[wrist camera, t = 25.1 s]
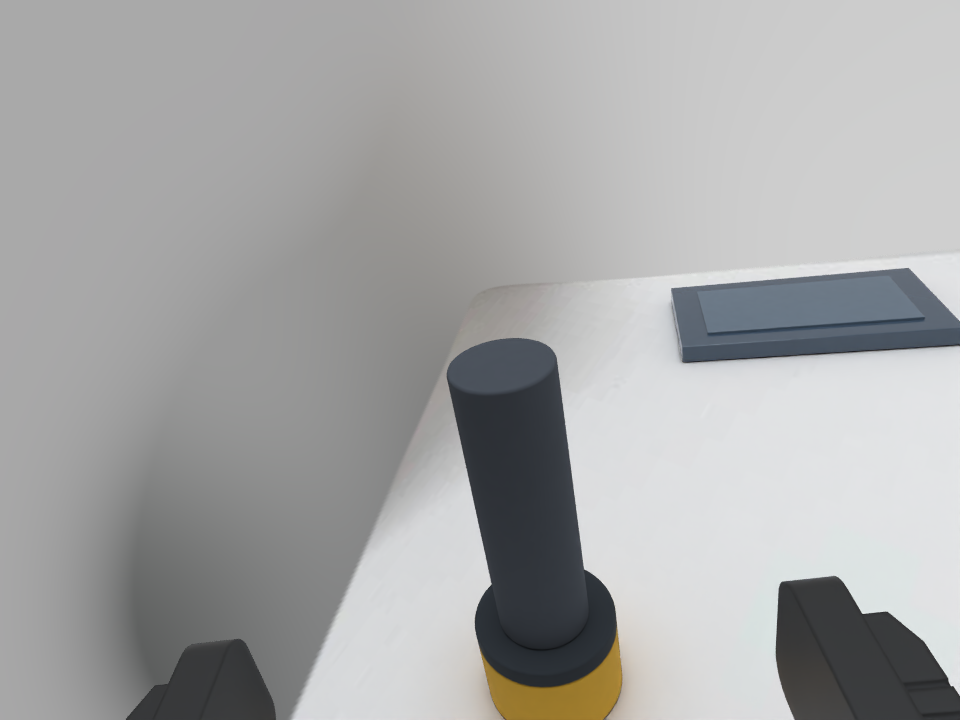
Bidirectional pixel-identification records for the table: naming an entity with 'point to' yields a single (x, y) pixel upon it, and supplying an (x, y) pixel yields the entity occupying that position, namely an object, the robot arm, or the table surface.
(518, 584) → the sponge wand
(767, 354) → the plate
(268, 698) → the robot arm
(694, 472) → the table surface
